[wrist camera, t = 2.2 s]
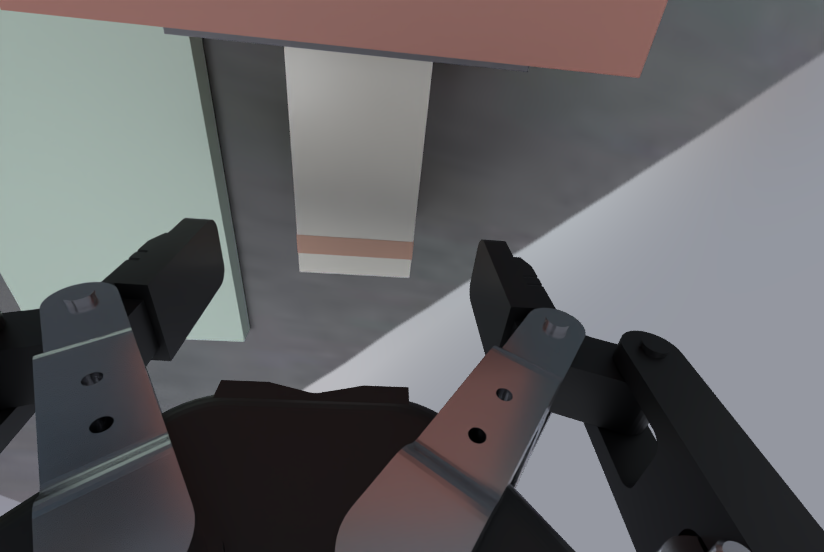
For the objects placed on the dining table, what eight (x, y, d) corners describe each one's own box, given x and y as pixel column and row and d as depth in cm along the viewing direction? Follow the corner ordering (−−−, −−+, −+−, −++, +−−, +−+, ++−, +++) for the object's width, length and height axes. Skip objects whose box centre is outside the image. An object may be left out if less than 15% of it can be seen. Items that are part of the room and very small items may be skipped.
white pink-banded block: (310, -125, 14) (265, -204, 9) (436, -107, 15) (459, -173, 9) (321, 211, 21) (299, 272, 16) (405, 217, 22) (409, 278, 17)
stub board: (-149, -60, 14) (-190, -65, 13) (192, -19, 16) (178, -22, 15) (48, 320, 24) (34, 333, 23) (250, 328, 25) (244, 341, 24)
